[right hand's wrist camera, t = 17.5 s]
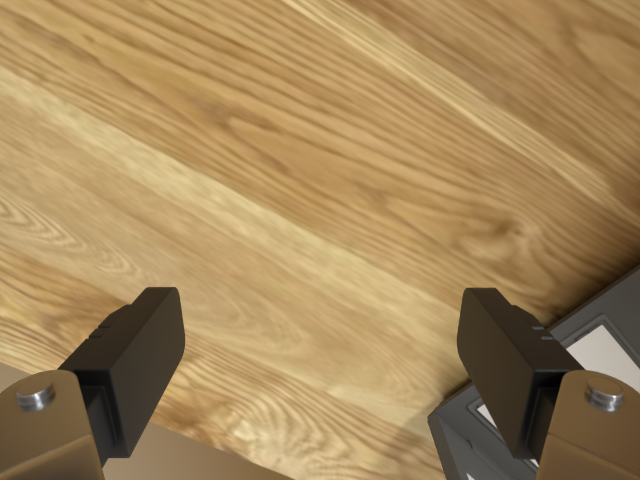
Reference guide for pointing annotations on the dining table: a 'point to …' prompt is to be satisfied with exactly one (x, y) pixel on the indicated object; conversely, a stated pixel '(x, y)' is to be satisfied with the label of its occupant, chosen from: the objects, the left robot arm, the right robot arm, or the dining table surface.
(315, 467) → the dining table surface
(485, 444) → the laptop
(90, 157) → the dining table surface
